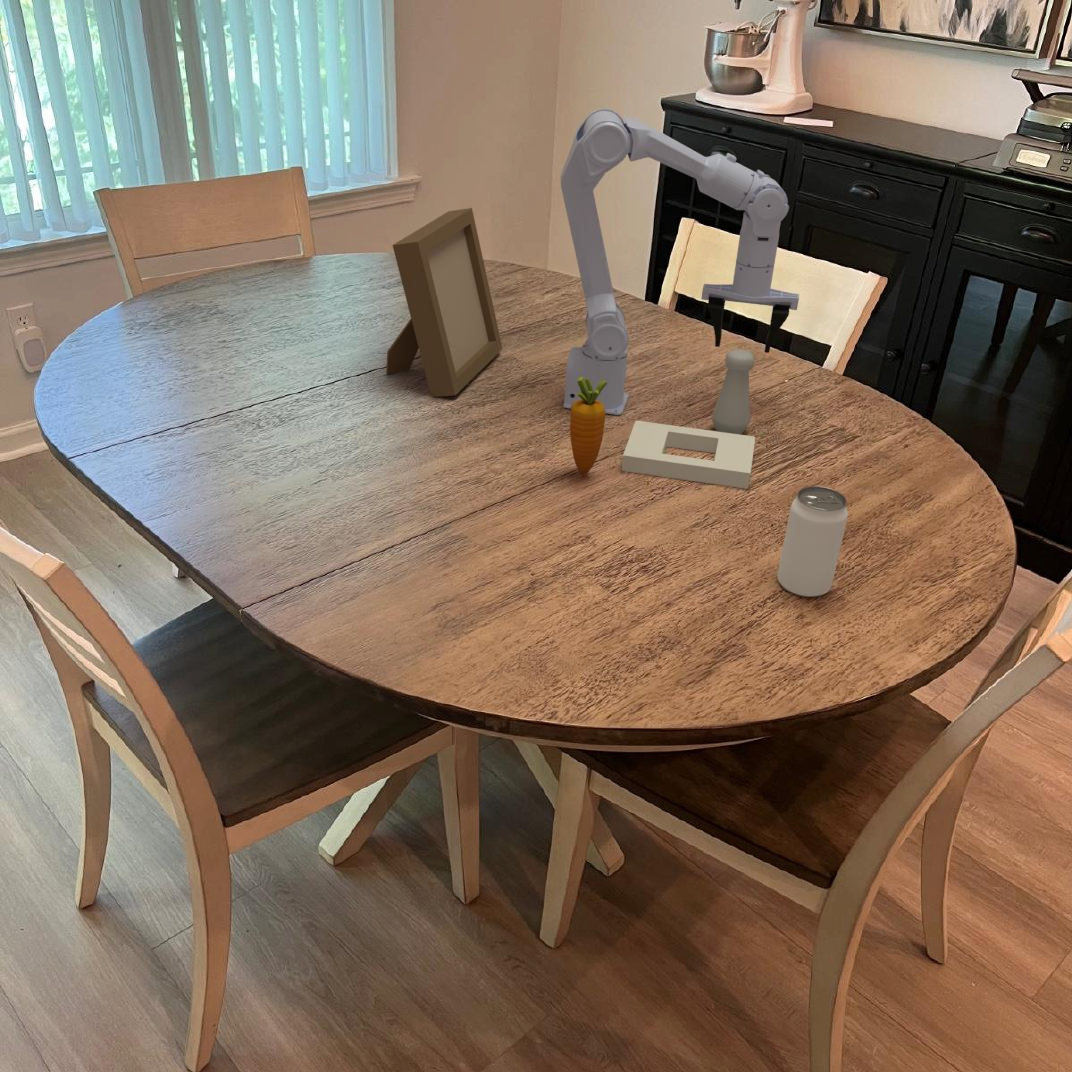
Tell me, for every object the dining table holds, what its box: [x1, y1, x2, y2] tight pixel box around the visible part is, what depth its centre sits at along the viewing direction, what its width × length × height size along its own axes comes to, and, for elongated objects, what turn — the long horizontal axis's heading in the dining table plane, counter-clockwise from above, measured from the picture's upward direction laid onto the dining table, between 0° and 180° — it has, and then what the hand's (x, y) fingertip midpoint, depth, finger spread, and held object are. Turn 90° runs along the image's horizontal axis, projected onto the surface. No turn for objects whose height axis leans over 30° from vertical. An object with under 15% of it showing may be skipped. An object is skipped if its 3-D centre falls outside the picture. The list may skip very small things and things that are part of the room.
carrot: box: [569, 377, 607, 477], centre depth 142 cm, size 5×5×15 cm
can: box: [777, 485, 848, 598], centre depth 122 cm, size 6×6×12 cm
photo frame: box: [385, 207, 503, 398], centre depth 170 cm, size 15×22×25 cm
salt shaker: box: [711, 349, 755, 435], centre depth 157 cm, size 6×6×13 cm
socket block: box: [621, 420, 756, 490], centre depth 151 cm, size 18×12×2 cm, turn 77°
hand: (742, 347), depth 162 cm, fingers open, 7 cm apart
